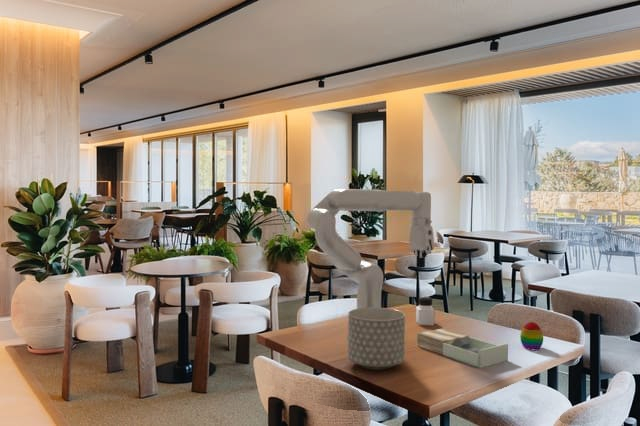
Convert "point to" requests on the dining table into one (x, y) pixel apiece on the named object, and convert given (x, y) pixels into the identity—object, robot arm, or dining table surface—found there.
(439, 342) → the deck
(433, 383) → the dining table surface
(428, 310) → the medicine bottle
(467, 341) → the tile rear
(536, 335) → the decorative egg
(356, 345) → the planter
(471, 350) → the tile front
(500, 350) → the tray
